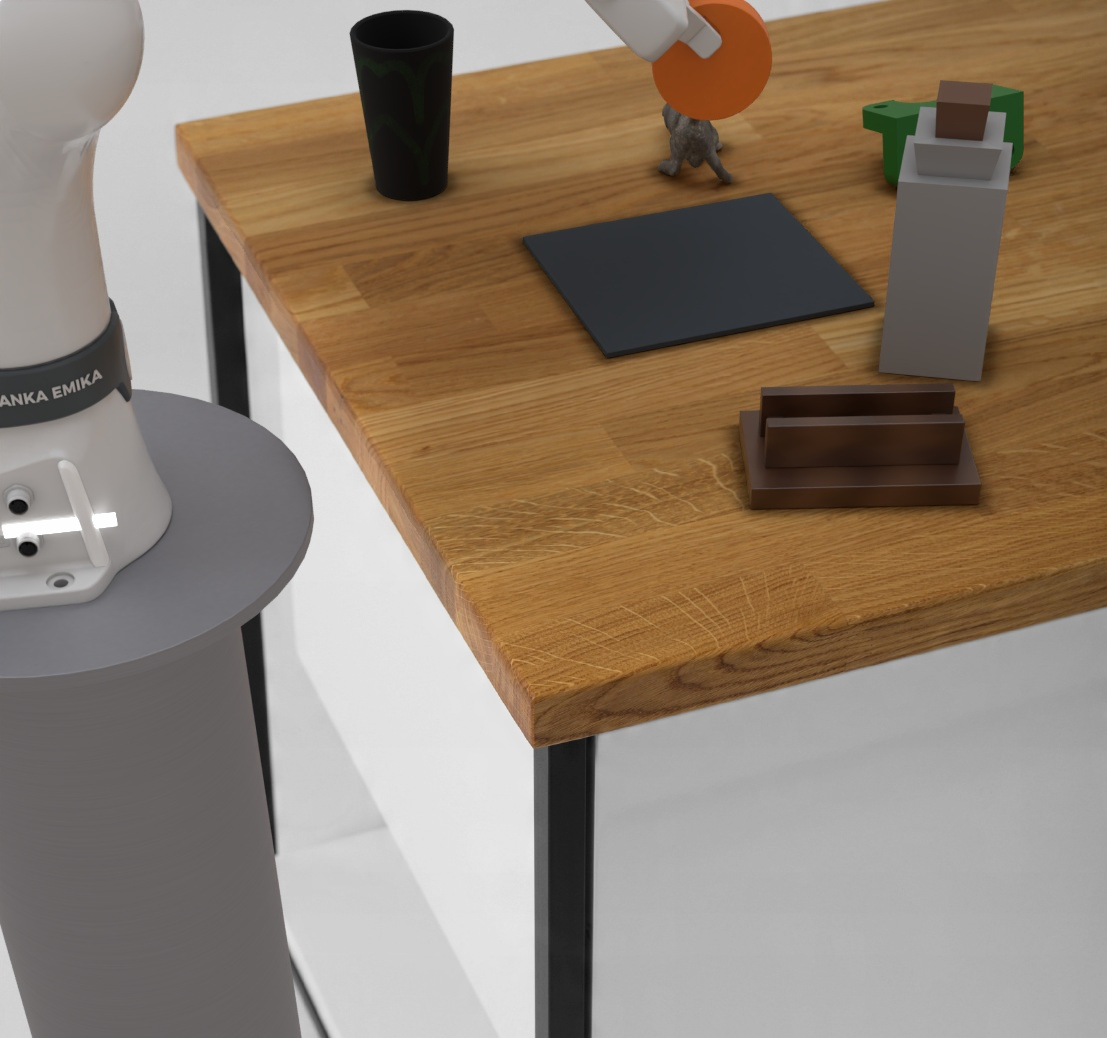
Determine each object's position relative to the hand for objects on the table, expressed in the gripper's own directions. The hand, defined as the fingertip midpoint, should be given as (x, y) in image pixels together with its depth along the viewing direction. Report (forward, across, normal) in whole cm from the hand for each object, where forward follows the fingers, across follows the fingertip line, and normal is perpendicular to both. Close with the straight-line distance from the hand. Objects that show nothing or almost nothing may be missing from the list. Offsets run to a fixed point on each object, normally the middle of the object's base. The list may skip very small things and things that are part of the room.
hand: (712, 37), depth 137 cm
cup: (-3, +15, +28) cm, 32 cm away
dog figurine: (+13, +18, +12) cm, 25 cm away
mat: (+12, 0, +13) cm, 17 cm away
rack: (+18, -26, +6) cm, 32 cm away
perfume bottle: (+23, -12, +2) cm, 26 cm away
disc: (+1, 0, +1) cm, 1 cm away
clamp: (+26, +16, -1) cm, 30 cm away
